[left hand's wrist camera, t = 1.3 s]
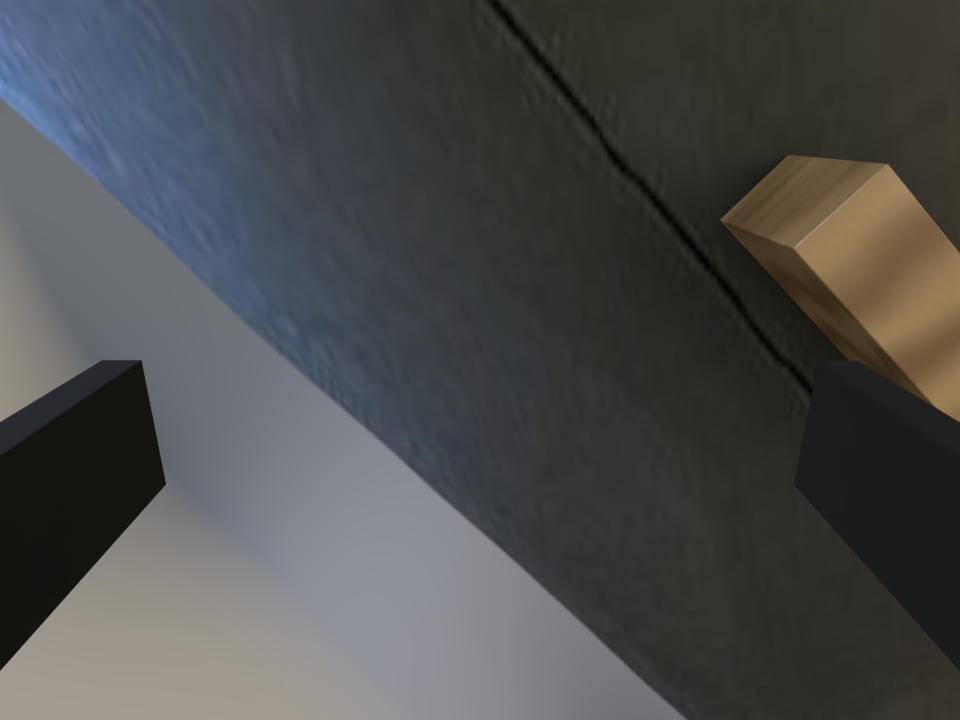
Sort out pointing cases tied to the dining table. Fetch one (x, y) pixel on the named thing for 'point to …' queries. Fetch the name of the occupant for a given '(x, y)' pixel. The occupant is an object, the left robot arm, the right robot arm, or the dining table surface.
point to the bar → (861, 267)
